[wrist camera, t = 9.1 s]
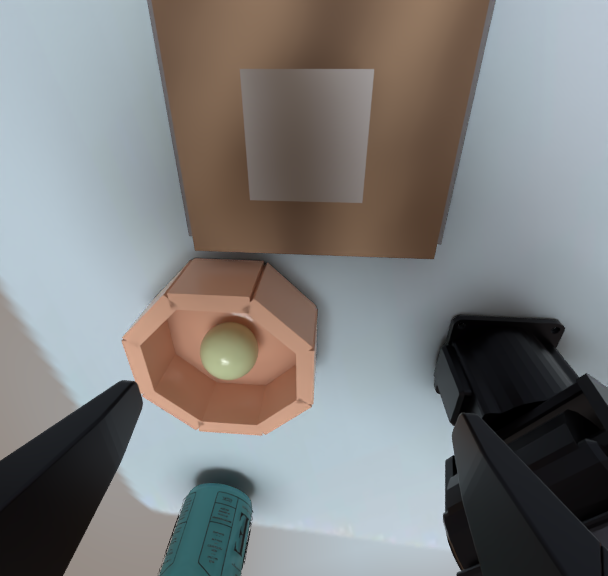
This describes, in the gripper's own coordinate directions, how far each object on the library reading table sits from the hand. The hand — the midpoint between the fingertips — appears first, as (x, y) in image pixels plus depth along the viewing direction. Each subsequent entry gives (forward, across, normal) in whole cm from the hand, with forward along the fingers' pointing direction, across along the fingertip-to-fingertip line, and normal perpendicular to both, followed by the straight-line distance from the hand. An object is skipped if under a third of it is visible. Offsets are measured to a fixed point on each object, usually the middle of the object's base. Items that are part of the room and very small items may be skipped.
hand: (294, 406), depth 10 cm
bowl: (+12, +5, +7) cm, 15 cm away
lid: (+11, 0, -6) cm, 13 cm away
